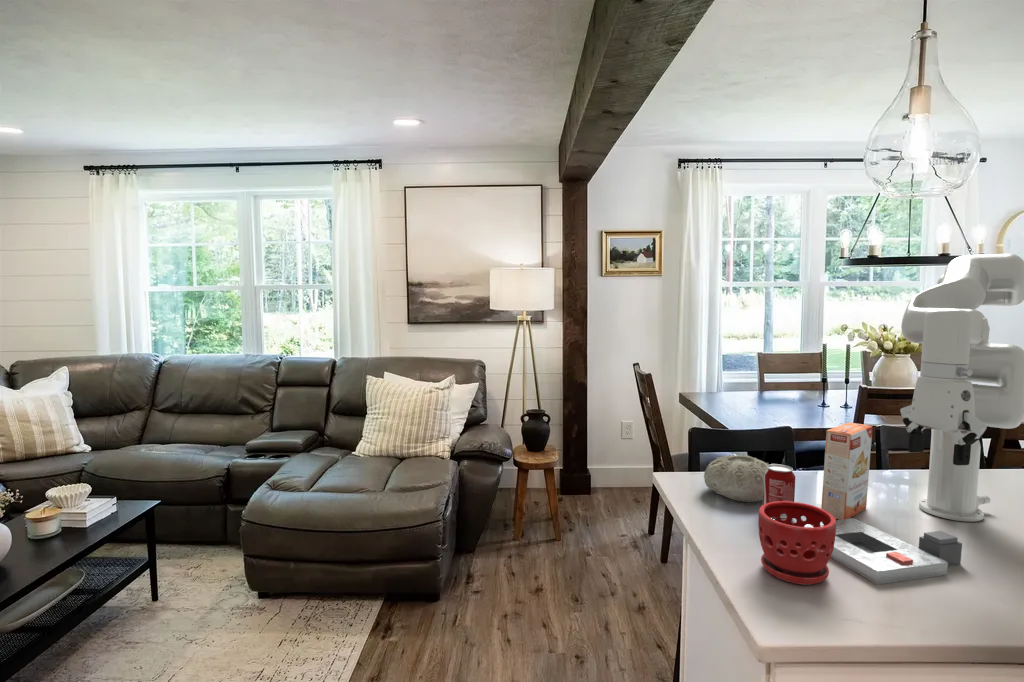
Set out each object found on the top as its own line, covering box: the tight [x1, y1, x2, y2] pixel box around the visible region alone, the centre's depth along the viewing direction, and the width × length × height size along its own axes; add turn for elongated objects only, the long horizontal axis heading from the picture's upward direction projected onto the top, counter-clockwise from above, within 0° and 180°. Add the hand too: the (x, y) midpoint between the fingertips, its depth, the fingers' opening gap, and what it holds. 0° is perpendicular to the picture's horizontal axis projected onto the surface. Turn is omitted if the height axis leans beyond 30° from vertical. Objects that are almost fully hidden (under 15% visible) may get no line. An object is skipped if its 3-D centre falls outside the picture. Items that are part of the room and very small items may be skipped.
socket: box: [804, 517, 949, 586], centre depth 120 cm, size 16×22×3 cm
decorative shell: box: [703, 454, 769, 503], centre depth 154 cm, size 18×18×10 cm
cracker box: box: [820, 422, 873, 520], centre depth 142 cm, size 14×6×21 cm, turn 131°
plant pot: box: [757, 501, 837, 586], centre depth 111 cm, size 13×13×12 cm
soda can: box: [762, 463, 796, 520], centre depth 139 cm, size 7×7×12 cm
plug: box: [918, 530, 963, 567], centre depth 117 cm, size 5×4×5 cm
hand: (937, 458), depth 117 cm, fingers open, 9 cm apart
